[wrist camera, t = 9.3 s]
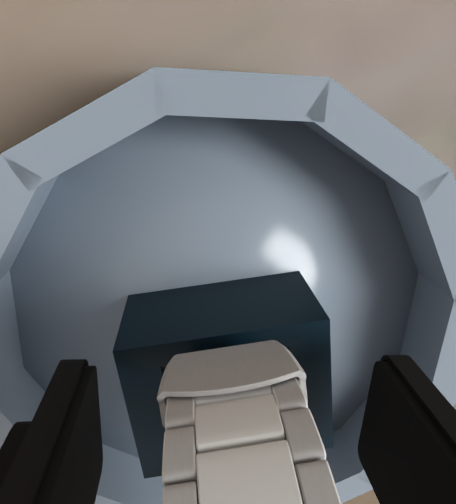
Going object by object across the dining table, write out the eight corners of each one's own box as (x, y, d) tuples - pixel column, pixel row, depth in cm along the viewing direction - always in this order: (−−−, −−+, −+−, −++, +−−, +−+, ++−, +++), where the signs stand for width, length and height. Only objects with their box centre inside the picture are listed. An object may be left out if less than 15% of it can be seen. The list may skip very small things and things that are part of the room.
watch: (161, 445, 16) (116, 1114, 5) (116, 243, 13) (-163, 862, 2) (309, 421, 16) (534, 1017, 6) (299, 218, 13) (720, 685, 3)
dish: (-47, 60, 11) (-116, 51, 9) (474, 89, 13) (548, 89, 10) (21, 478, 17) (-9, 550, 14) (386, 462, 18) (420, 524, 16)
